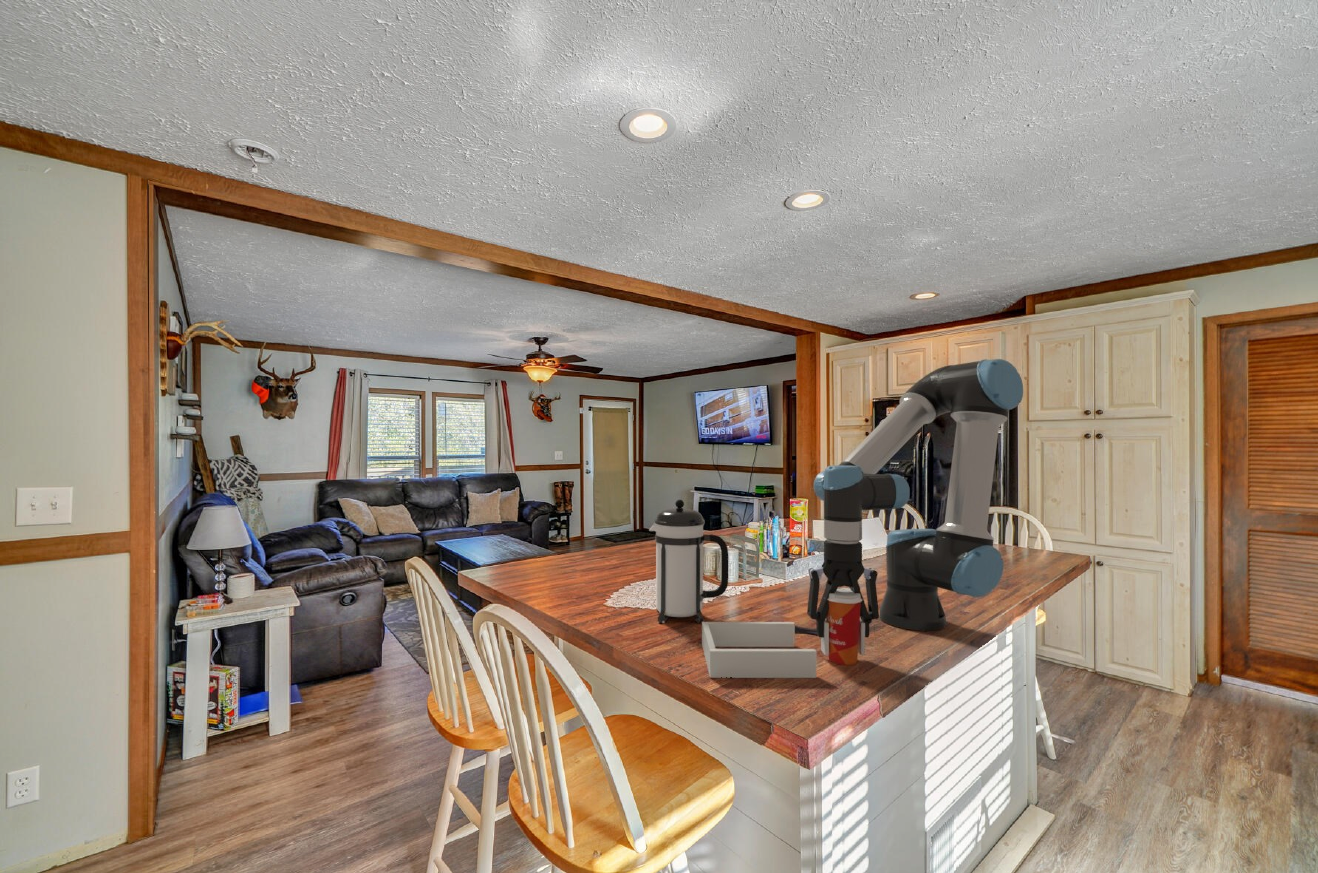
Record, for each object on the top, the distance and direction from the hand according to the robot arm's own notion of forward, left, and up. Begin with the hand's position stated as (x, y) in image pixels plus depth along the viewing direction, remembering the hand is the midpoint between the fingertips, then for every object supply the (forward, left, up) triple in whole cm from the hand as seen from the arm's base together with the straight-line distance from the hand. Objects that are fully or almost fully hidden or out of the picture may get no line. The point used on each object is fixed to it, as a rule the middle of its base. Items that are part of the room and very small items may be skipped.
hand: (842, 652), depth 114 cm
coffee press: (+31, -29, -2) cm, 42 cm away
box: (+18, 0, -1) cm, 18 cm away
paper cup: (0, 0, -2) cm, 2 cm away
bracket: (+2, -17, -2) cm, 17 cm away
